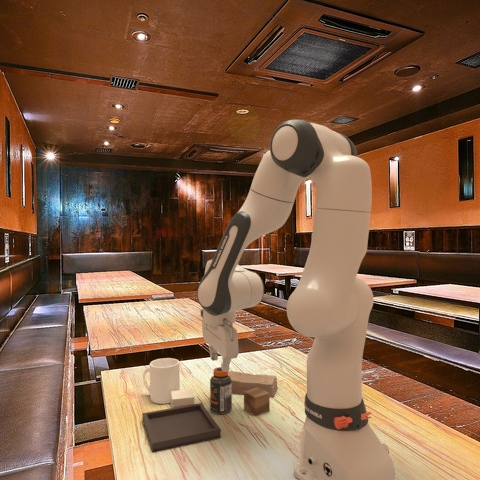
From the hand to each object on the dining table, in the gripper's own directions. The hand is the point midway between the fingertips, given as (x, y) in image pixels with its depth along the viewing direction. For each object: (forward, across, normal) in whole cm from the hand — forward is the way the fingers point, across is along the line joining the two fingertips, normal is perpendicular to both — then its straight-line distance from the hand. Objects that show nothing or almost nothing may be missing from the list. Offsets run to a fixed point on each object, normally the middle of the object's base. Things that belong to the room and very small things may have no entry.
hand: (219, 365), depth 107 cm
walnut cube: (+12, -5, -9) cm, 16 cm away
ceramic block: (+13, +5, +9) cm, 16 cm away
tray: (+12, -7, +13) cm, 19 cm away
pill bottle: (+12, -1, 0) cm, 13 cm away
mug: (+13, +14, +14) cm, 24 cm away
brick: (+13, +9, -13) cm, 20 cm away
